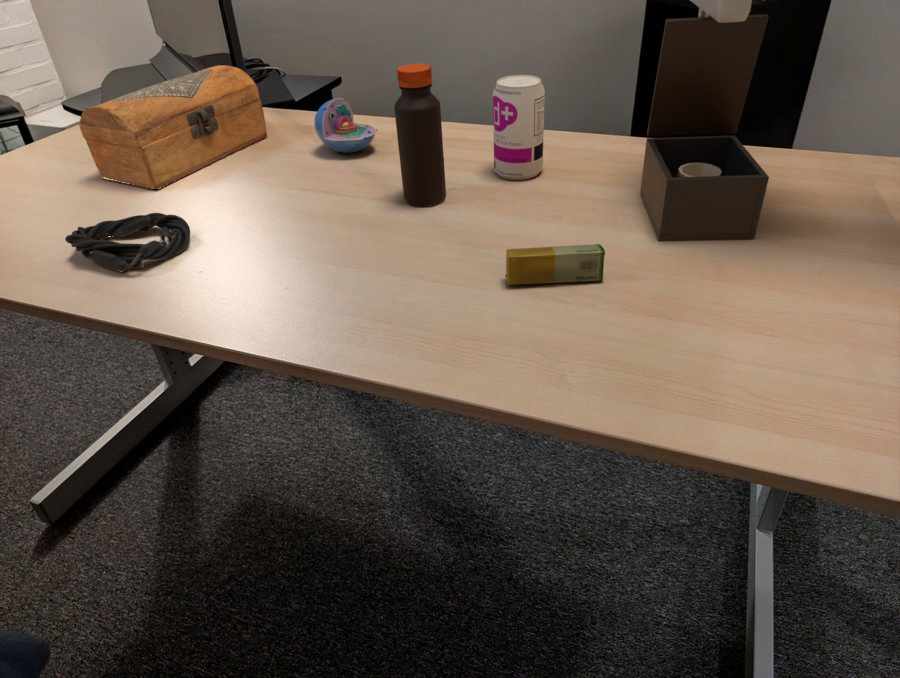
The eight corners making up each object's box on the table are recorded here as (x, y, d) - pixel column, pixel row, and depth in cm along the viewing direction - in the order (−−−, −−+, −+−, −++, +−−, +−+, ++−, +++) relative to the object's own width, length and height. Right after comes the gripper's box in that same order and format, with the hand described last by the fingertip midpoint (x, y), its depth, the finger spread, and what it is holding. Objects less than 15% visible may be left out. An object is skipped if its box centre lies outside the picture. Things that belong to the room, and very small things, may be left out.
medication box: (599, 272, 83) (601, 242, 81) (604, 281, 81) (606, 251, 79) (505, 276, 83) (505, 247, 81) (507, 286, 81) (507, 256, 79)
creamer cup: (708, 201, 96) (715, 161, 92) (718, 218, 91) (726, 177, 88) (669, 202, 96) (675, 163, 93) (677, 219, 92) (683, 178, 88)
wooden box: (158, 193, 113) (130, 112, 105) (98, 179, 120) (67, 102, 112) (275, 137, 133) (259, 66, 125) (218, 128, 141) (199, 60, 132)
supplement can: (511, 185, 107) (511, 91, 98) (485, 170, 113) (483, 80, 104) (552, 173, 110) (555, 81, 101) (524, 159, 116) (525, 71, 107)
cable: (54, 259, 95) (42, 232, 92) (131, 219, 105) (122, 193, 102) (135, 281, 88) (124, 253, 85) (210, 236, 98) (202, 210, 95)
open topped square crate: (754, 239, 88) (769, 177, 82) (658, 241, 89) (667, 179, 84) (723, 191, 100) (735, 135, 95) (639, 193, 101) (646, 138, 96)
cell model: (360, 163, 119) (353, 110, 113) (308, 156, 124) (298, 104, 118) (389, 145, 126) (383, 94, 120) (339, 138, 131) (331, 89, 125)
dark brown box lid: (769, 16, 82) (767, 13, 83) (666, 21, 83) (665, 18, 84) (736, 133, 94) (734, 130, 95) (647, 136, 96) (646, 133, 96)
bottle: (395, 199, 105) (380, 69, 93) (428, 186, 108) (417, 59, 97) (422, 211, 101) (409, 76, 89) (455, 197, 104) (447, 66, 92)
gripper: (780, -69, 71) (753, 64, 79) (730, -82, 88) (712, 29, 96) (720, -65, 72) (700, 66, 80) (681, -79, 88) (668, 31, 96)
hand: (706, 46), depth 88 cm, fingers closed
